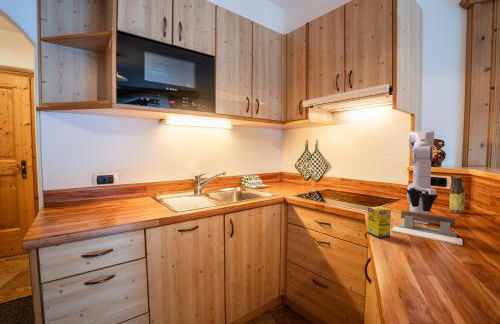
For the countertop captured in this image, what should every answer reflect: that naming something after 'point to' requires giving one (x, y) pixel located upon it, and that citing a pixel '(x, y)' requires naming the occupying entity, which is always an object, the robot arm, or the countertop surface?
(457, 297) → the countertop surface
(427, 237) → the mat
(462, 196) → the sauce bottle
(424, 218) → the rail
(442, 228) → the rack
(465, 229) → the countertop surface
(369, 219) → the supplement box
